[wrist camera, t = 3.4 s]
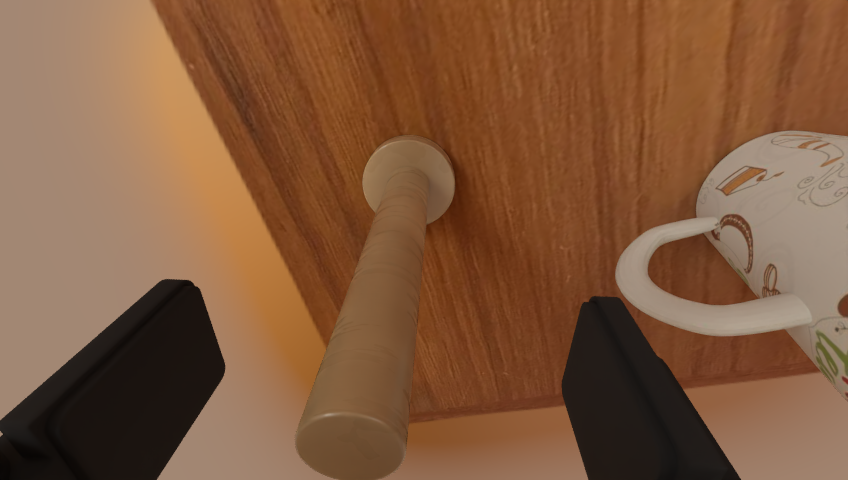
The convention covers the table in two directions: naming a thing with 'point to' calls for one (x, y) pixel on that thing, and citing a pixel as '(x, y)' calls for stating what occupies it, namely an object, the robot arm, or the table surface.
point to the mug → (766, 247)
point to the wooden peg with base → (378, 320)
